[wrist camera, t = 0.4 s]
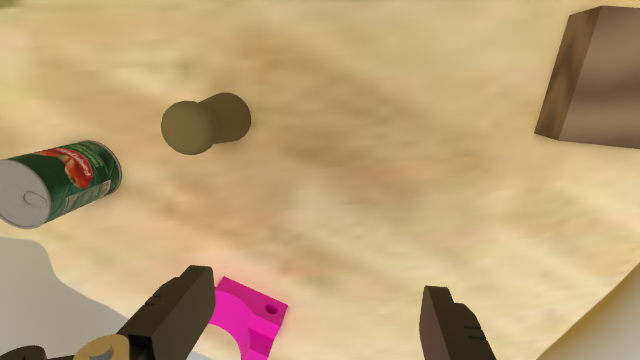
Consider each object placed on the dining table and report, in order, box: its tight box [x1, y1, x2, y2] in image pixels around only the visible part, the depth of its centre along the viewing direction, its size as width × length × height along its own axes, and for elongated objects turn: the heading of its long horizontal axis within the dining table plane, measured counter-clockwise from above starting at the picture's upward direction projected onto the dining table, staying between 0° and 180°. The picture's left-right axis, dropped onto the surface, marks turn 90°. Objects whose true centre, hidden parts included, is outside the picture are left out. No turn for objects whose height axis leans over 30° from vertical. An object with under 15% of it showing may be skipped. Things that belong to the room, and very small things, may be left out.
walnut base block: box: [534, 6, 640, 149], centre depth 32 cm, size 12×12×5 cm
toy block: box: [209, 276, 288, 360], centre depth 45 cm, size 15×6×8 cm, turn 66°
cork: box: [161, 93, 251, 155], centre depth 35 cm, size 6×6×11 cm
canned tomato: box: [0, 141, 122, 229], centre depth 39 cm, size 8×8×11 cm
